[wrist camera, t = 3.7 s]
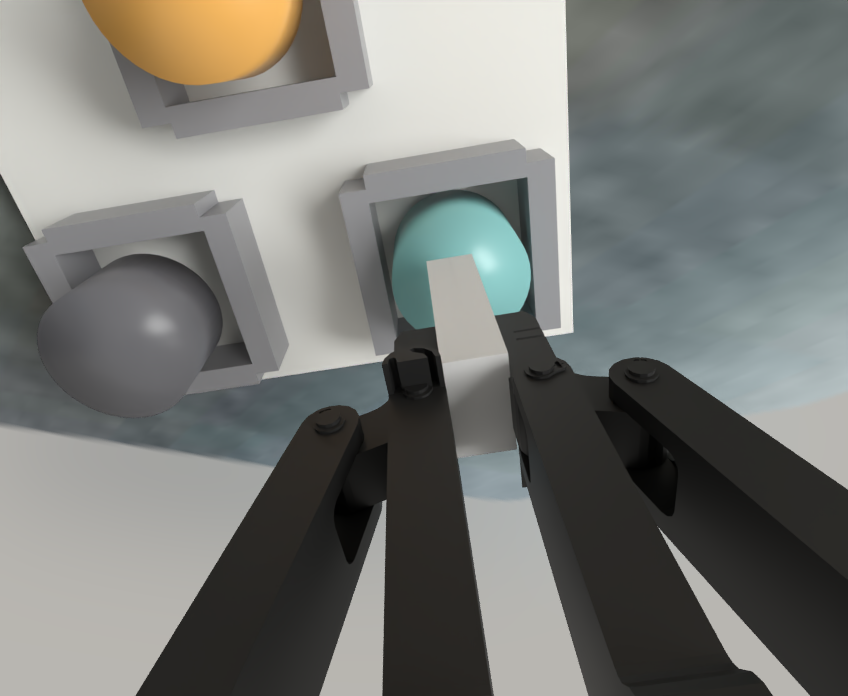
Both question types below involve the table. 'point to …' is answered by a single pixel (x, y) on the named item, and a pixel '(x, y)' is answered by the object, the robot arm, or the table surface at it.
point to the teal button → (458, 252)
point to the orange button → (199, 35)
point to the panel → (291, 165)
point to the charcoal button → (131, 335)
